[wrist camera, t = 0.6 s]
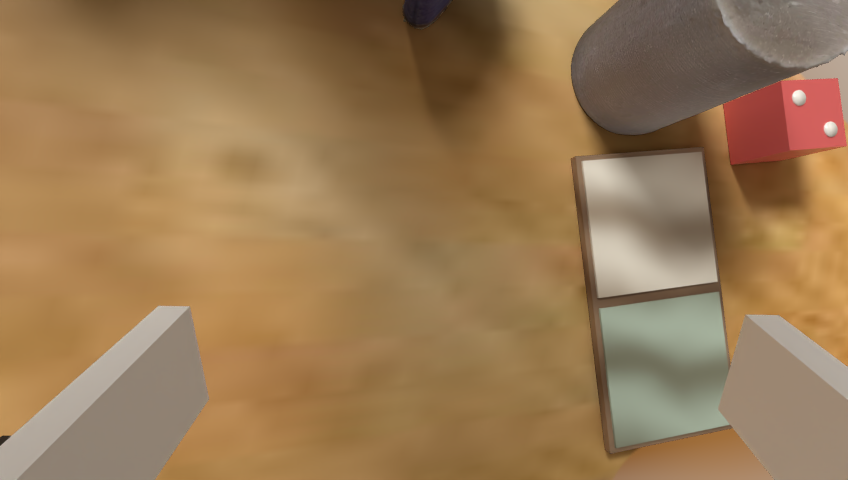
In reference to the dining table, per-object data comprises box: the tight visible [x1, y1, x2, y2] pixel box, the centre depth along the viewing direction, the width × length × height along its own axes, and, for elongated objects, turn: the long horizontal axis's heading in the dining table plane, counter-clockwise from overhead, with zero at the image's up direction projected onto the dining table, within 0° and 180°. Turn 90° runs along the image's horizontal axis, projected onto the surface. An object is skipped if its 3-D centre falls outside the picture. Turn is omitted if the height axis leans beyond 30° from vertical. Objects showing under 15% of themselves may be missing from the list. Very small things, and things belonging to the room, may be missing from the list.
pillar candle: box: [571, 0, 848, 135], centre depth 29 cm, size 10×10×15 cm
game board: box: [571, 147, 733, 454], centre depth 35 cm, size 22×11×1 cm, turn 6°
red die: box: [723, 78, 847, 165], centre depth 36 cm, size 5×5×5 cm
